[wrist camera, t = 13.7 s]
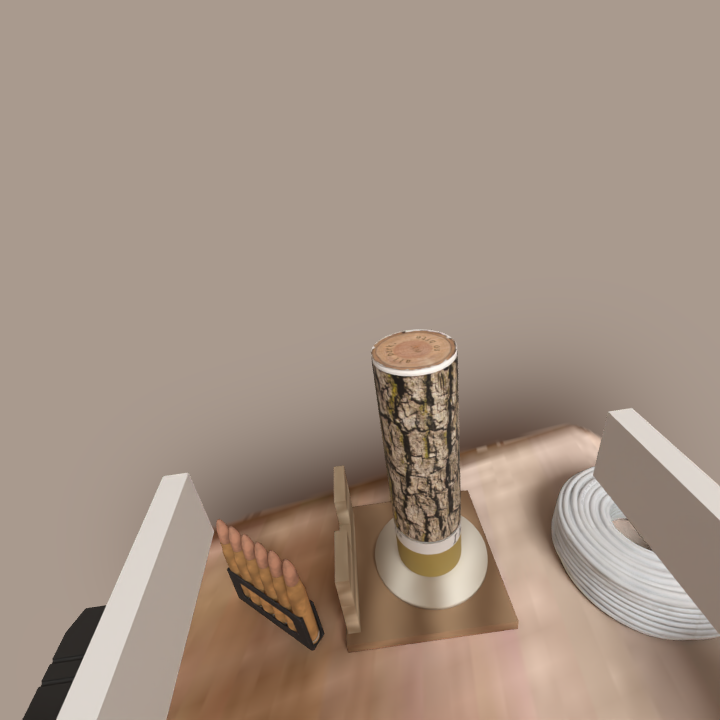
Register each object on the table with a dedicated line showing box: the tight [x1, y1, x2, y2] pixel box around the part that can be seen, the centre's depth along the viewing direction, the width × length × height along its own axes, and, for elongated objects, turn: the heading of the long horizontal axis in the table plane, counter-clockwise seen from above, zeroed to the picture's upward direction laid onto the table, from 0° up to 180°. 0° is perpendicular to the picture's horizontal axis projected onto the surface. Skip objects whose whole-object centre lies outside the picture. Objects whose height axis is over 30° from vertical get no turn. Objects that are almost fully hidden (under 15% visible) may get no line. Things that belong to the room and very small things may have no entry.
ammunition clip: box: [216, 519, 324, 650], centre depth 40 cm, size 11×2×12 cm, turn 56°
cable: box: [552, 466, 720, 640], centre depth 42 cm, size 18×18×6 cm
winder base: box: [334, 466, 518, 652], centre depth 43 cm, size 16×16×9 cm
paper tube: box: [371, 330, 461, 577], centre depth 39 cm, size 7×7×25 cm
